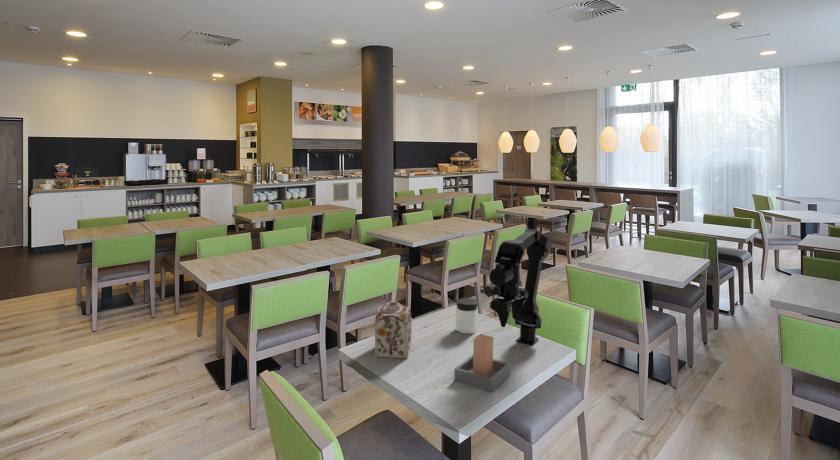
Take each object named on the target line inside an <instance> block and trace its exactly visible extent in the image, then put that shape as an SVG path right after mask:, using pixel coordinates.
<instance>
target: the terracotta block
mask: <svg viewBox="0 0 840 460" xmlns="http://www.w3.org/2000/svg"><path fill="white" fill-rule="evenodd" d="M472 351H473V352H472V353H473V354H472V355H473V373H476V374H479V375H482V376H485V377H490V376H491V375H492V369H493V359H494V336H489V335H485V334H482V333H481V334H478V335H477V336H475V337H474V338H473V350H472Z"/></svg>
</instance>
